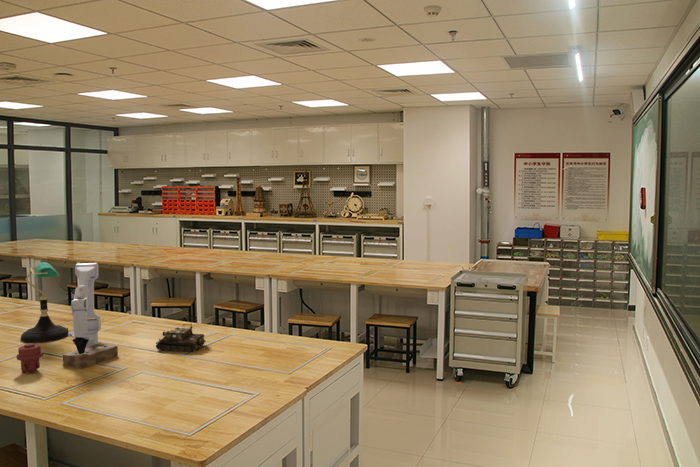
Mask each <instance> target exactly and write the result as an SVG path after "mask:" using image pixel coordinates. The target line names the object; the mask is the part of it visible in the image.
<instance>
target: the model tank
mask: <svg viewBox="0 0 700 467" xmlns="http://www.w3.org/2000/svg"><path fill="white" fill-rule="evenodd" d="M184 326H190V327H189V328H187V327H184ZM193 331H194V329H193V324H192V322H190V323H183V324H182V326H181V327H180V326H178V327H175V328H174V329H171V330H170V331H169V330H167V331H162V336H163V337H162V339H161V338H159V339H158V340H157V341H156V342H155V344H156V345H155V348H156V349H157V350H159V351H161V352H173V353H175V352H176V353H193V352H195V351H196V350H197V349H198V348H199V347H201V346H204V345H205V343H206V342H207V341H206V339H205V334H203V333H193Z"/></svg>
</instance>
